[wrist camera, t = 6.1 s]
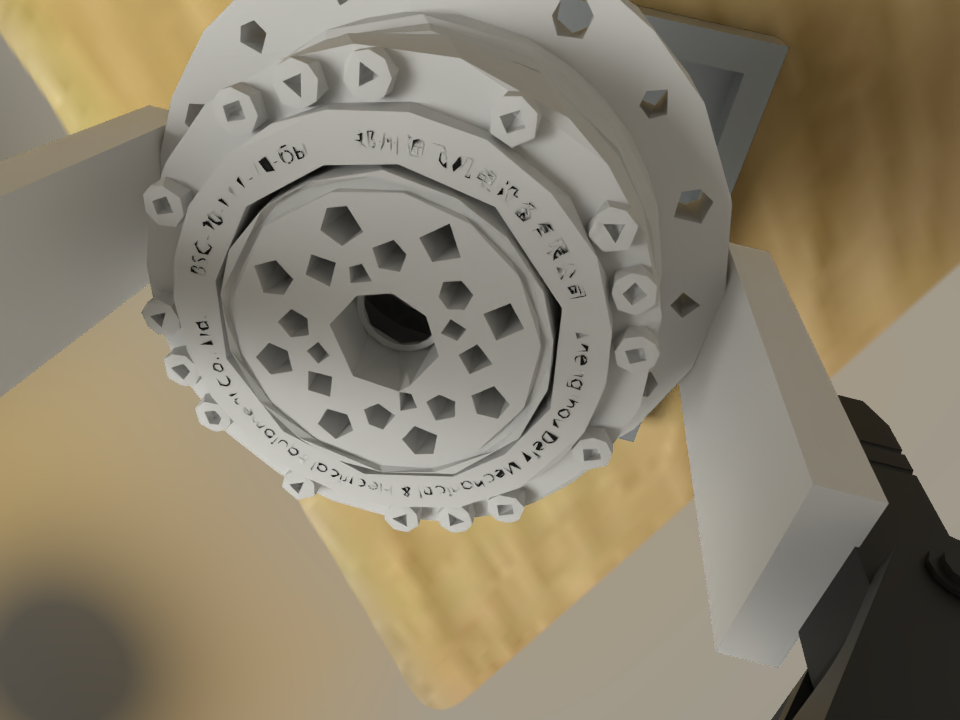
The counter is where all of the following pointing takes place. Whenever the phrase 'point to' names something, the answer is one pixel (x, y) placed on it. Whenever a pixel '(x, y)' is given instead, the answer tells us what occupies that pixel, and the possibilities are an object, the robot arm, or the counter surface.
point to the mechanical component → (433, 244)
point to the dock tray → (711, 79)
